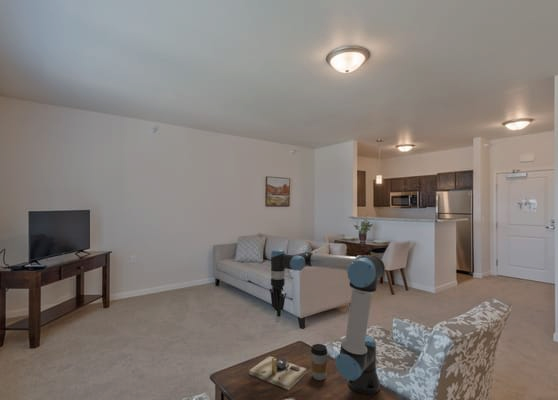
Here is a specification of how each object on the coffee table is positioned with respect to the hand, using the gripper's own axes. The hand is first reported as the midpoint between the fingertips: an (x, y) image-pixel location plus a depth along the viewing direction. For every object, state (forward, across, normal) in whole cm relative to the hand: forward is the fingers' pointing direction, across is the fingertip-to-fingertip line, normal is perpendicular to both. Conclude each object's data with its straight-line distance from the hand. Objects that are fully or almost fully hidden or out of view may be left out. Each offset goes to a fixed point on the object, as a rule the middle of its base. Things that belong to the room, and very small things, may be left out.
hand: (277, 321), depth 160 cm
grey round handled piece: (+22, +5, -2) cm, 22 cm away
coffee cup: (+25, +20, +12) cm, 34 cm away
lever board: (+24, +5, -3) cm, 25 cm away
